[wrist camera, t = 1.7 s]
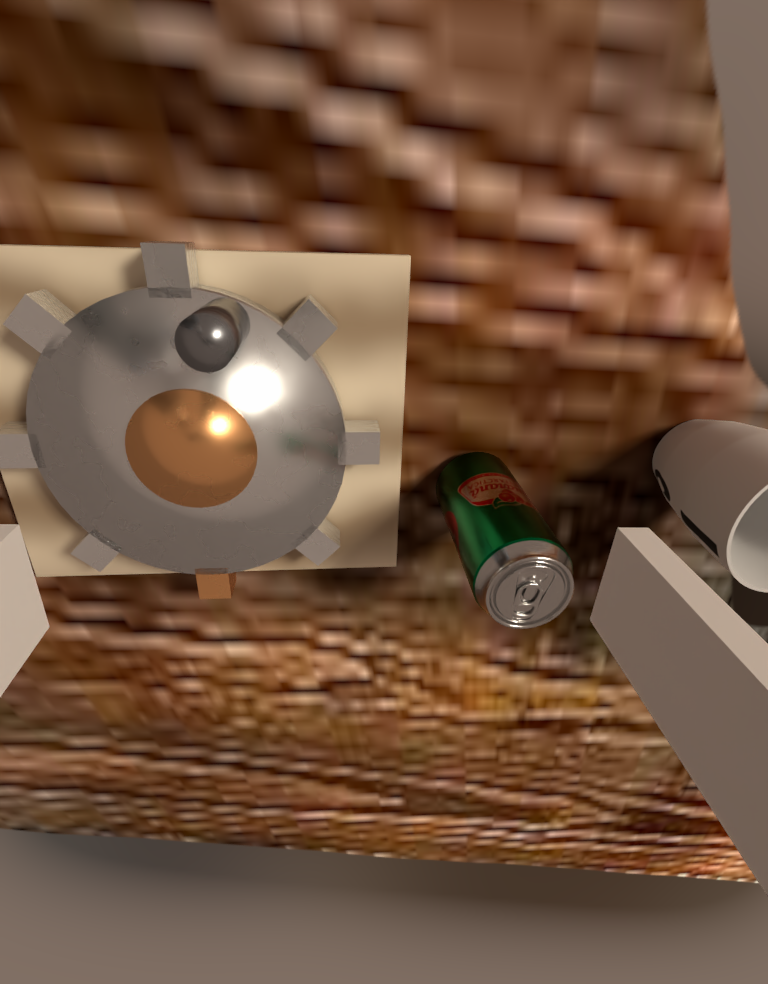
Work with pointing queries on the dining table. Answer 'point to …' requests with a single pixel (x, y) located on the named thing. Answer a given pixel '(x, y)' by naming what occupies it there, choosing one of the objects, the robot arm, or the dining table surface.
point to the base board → (280, 288)
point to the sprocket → (186, 424)
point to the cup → (720, 491)
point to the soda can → (504, 543)
